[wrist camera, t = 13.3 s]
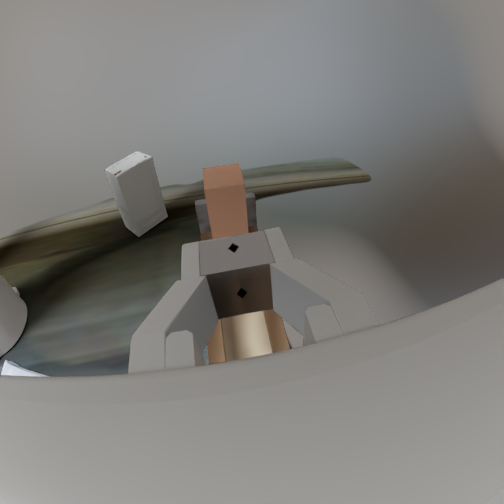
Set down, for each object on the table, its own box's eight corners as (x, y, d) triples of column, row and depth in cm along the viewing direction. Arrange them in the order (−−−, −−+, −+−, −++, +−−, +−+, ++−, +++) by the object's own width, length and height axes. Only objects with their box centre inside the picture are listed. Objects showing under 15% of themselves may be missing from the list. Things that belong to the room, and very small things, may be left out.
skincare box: (154, 209, 64) (138, 149, 54) (169, 218, 61) (154, 154, 51) (124, 228, 59) (102, 167, 49) (138, 239, 56) (115, 174, 46)
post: (220, 277, 47) (204, 189, 36) (217, 252, 51) (203, 168, 40) (251, 273, 47) (244, 184, 36) (246, 247, 51) (238, 163, 40)
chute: (212, 371, 36) (199, 339, 30) (202, 239, 55) (194, 200, 49) (289, 359, 37) (293, 324, 31) (255, 231, 56) (253, 192, 50)
